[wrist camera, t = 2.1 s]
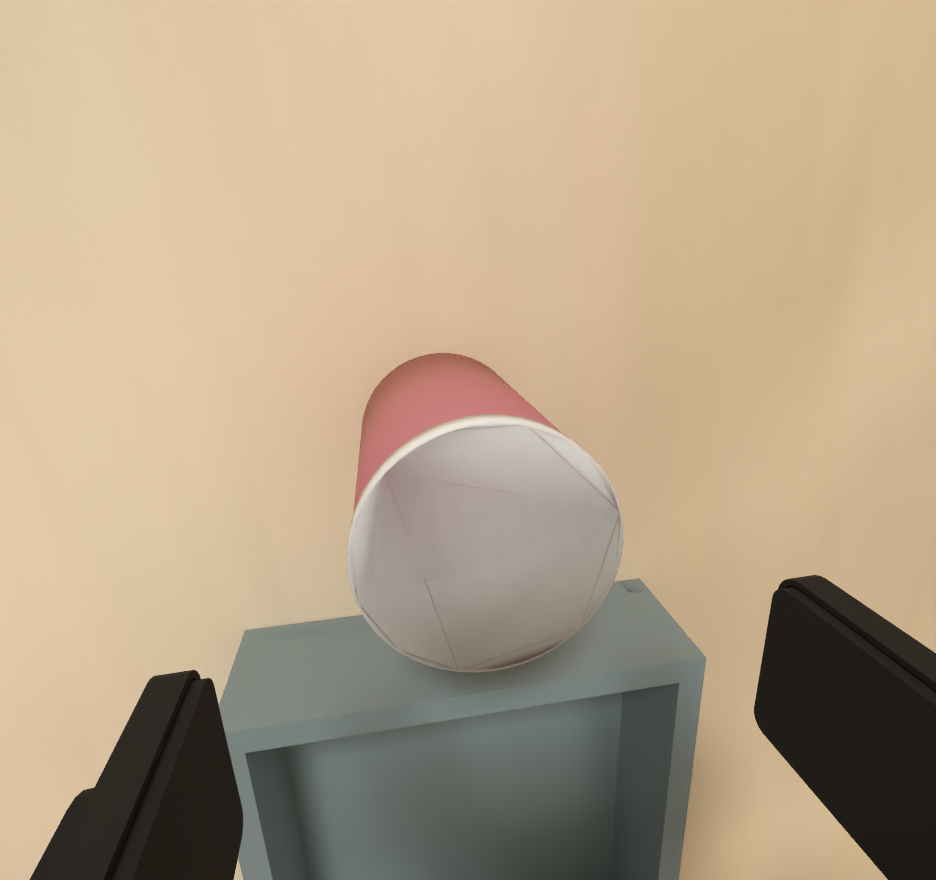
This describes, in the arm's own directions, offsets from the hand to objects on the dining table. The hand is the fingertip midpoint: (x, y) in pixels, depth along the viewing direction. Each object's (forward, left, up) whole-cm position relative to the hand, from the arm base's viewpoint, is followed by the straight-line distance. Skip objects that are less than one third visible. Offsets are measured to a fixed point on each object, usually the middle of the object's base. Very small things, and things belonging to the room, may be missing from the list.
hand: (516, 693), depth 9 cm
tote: (-1, +18, -14) cm, 23 cm away
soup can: (0, 0, -14) cm, 14 cm away
